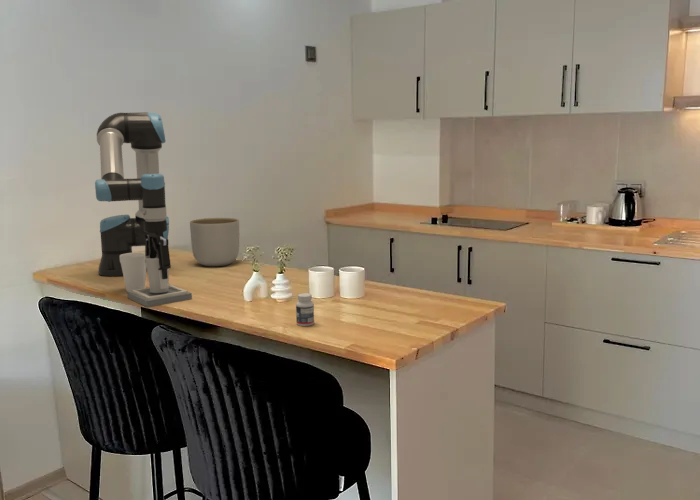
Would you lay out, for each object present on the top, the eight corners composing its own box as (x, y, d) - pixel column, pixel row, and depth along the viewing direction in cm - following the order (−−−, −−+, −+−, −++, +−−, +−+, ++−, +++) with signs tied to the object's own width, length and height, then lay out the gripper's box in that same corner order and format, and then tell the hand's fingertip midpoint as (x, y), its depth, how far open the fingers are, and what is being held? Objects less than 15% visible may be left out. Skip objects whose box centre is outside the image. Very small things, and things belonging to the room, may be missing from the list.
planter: (235, 268, 273) (234, 223, 270) (186, 269, 274) (184, 224, 270) (244, 259, 294) (242, 217, 291) (198, 259, 294) (196, 217, 291)
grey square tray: (127, 298, 225) (127, 290, 225) (171, 290, 235) (170, 283, 235) (147, 307, 213) (146, 298, 213) (191, 298, 223) (191, 290, 223)
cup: (164, 293, 219) (162, 258, 217) (142, 293, 221) (140, 258, 219) (175, 288, 227) (173, 254, 225) (154, 287, 229) (152, 253, 226)
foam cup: (151, 290, 235) (149, 255, 233) (125, 294, 231) (123, 258, 229) (145, 285, 243) (143, 251, 241) (119, 289, 239) (117, 254, 237)
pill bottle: (296, 321, 196) (295, 292, 194) (313, 321, 196) (313, 292, 194) (296, 326, 190) (295, 297, 189) (314, 326, 191) (313, 296, 189)
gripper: (132, 218, 225) (136, 282, 229) (157, 223, 210) (161, 293, 214) (152, 216, 230) (156, 279, 234) (179, 221, 214) (182, 289, 218)
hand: (159, 286), depth 224 cm, fingers closed on cup, 7 cm apart
